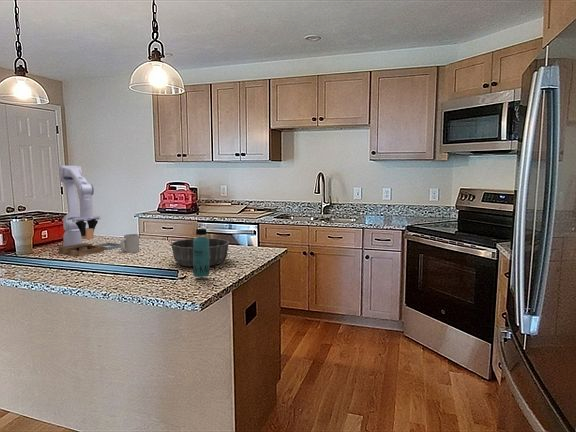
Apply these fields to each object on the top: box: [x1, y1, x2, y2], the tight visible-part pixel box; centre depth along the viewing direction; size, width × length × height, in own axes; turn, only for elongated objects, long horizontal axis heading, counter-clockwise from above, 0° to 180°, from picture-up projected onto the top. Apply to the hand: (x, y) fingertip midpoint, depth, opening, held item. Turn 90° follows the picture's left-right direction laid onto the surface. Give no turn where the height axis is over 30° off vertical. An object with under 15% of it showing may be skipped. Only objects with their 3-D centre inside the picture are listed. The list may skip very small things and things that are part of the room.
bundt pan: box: [170, 237, 230, 268], centre depth 186 cm, size 26×26×10 cm
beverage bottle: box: [192, 228, 211, 278], centre depth 159 cm, size 6×7×20 cm
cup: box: [119, 233, 140, 254], centre depth 207 cm, size 7×10×9 cm
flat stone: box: [77, 246, 87, 251], centre depth 208 cm, size 4×4×2 cm
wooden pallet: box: [58, 242, 105, 258], centre depth 203 cm, size 15×14×4 cm
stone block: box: [81, 227, 95, 240], centre depth 203 cm, size 4×4×5 cm
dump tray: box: [94, 242, 121, 251], centre depth 217 cm, size 11×10×2 cm
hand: (87, 235), depth 203 cm, fingers closed on stone block, 4 cm apart
